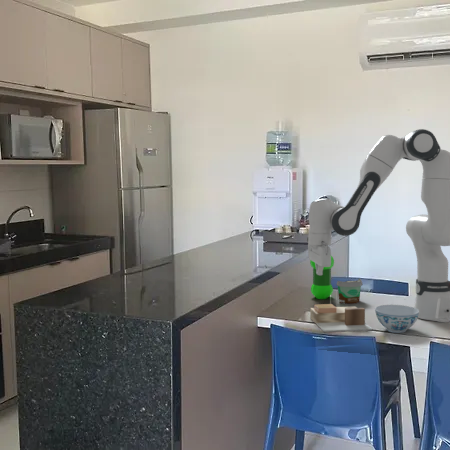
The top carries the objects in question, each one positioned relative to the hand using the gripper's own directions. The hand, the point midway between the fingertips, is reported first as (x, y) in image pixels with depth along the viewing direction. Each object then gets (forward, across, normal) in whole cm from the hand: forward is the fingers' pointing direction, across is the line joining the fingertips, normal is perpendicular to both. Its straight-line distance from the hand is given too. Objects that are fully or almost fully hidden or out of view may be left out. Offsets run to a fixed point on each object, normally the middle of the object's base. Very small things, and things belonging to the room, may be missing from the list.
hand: (319, 274), depth 215 cm
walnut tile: (+13, -16, -9) cm, 23 cm away
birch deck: (+16, -8, -5) cm, 19 cm away
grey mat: (+16, -17, -5) cm, 24 cm away
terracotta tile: (+12, -8, 0) cm, 14 cm away
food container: (+16, +18, -20) cm, 31 cm away
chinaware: (+17, -24, -22) cm, 36 cm away
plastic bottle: (+17, +30, -10) cm, 36 cm away
